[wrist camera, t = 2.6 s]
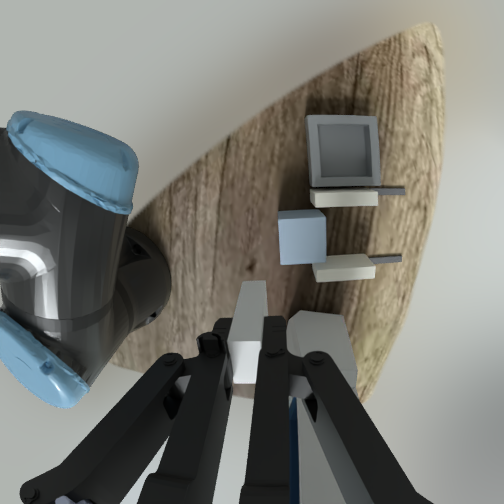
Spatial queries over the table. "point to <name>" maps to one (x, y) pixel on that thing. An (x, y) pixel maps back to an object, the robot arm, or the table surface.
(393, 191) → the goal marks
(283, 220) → the block
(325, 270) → the channel
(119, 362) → the table surface
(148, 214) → the table surface
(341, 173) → the tray
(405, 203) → the table surface
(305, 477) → the electronic device
